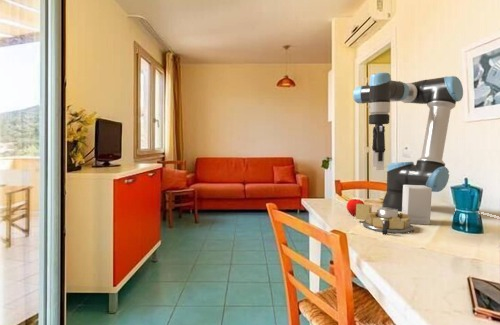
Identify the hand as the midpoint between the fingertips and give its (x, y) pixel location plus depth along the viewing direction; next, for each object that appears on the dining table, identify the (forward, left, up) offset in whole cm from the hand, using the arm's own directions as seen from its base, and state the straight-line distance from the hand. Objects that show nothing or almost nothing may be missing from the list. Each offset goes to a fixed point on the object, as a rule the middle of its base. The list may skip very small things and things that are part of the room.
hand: (377, 168), depth 129 cm
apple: (-10, -13, -23) cm, 28 cm away
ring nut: (0, +2, -21) cm, 21 cm away
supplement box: (-17, +10, -23) cm, 30 cm away
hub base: (+1, +5, -23) cm, 23 cm away
